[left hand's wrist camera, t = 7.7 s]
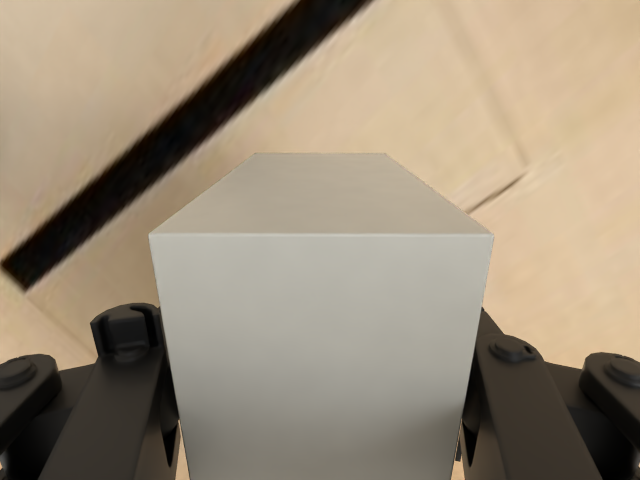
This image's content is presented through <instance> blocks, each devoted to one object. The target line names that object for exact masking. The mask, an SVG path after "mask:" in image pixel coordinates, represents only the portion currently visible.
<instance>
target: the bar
mask: <svg viewBox="0 0 640 480" xmlns="http://www.w3.org/2000/svg"><path fill="white" fill-rule="evenodd" d="M148 239H149V244H150V250H151V256H152V262H153V268H154V273H155V279H156V285H157V291H158V297H159V302H160V308H161V314H162V320H163V326H164V331H165V337H166V343H167V349H168V355H169V361H170V366H171V372H172V378H173V384H174V390H175V395H176V401H177V407H178V413H179V419H180V424H181V430H182V436H183V442H184V448H185V454H186V459H187V465H188V471H189V477H190V480H451V475H452V470H453V464H454V459H455V453H456V447H457V442H458V436H459V431H460V425H461V420H462V414H463V408H464V403H465V397H466V392H467V386H468V380H469V375H470V369H471V364H472V358H473V353H474V347H475V341H476V336H477V330H478V325H479V319H480V313H481V308H482V302H483V297H484V291H485V286H486V280H487V274H488V269H489V263H490V258H491V252H492V247H493V241H494V234H493V233H492V232H490V231H489V230H488V229H486V228H485V227H484V226H482V225H481V224H480V223H478V222H477V221H476V220H474V219H473V218H472V217H470V216H469V215H468V214H466V213H465V212H463V211H462V210H461V209H459V208H458V207H457V206H455V205H454V204H453V203H451V202H450V201H449V200H447V199H446V198H445V197H443V196H442V195H441V194H439V193H438V192H437V191H435V190H434V189H433V188H431V187H430V186H429V185H427V184H426V183H425V182H423V181H422V180H420V179H419V178H418V177H416V176H415V175H414V174H412V173H411V172H410V171H408V170H407V169H406V168H404V167H403V166H402V165H400V164H399V163H398V162H396V161H395V160H394V159H392V158H391V157H390V156H388V155H387V154H385V153H255V154H253V155H252V156H251V157H249V158H248V159H247V160H245V161H244V162H243V163H241V164H240V165H239V166H237V167H236V168H235V169H233V170H232V171H231V172H229V173H228V174H227V175H225V176H224V177H223V178H221V179H220V180H219V181H217V182H216V183H215V184H213V185H212V186H211V187H209V188H208V189H207V190H205V191H204V192H203V193H202V194H200V195H199V196H198V197H196V198H195V199H194V200H192V201H191V202H190V203H188V204H187V205H186V206H184V207H183V208H182V209H180V210H179V211H178V212H176V213H175V214H174V215H172V216H171V217H170V218H168V219H167V220H166V221H164V222H163V223H162V224H160V225H159V226H158V227H156V228H155V229H154V230H152V231H151V232H150V233H149V234H148Z"/></svg>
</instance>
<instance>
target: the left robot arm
mask: <svg viewBox="0 0 640 480" xmlns="http://www.w3.org/2000/svg"><path fill="white" fill-rule="evenodd" d="M90 325H91V329H92V333H93V337H94V341H95V345H96V349H97V353H98V358H97V360H96V362H95V363H94V364H90V365H86V366H81V367H76V368H71V369H66V370H61V371H58V367H57V364H56V361H55V359H54V358H52V357H51V356H50V355H44V354H34V355H25V356H21V357H19V358H14V359H11V360H8V361H7V362H5V363H3V364H0V462H1V465H2V467H3V468H2V469H1V470H0V480H175V477H176V469H177V461H178V453H179V445H180V437H181V436H180V428H179V423H178V420H179V413H178V407H177V401H176V395H175V390H174V384H173V378H172V372H171V366H170V361H169V355H168V349H167V343H166V337H165V331H164V326H163V320H162V314H161V308H160V307H159V308H156V307H155V306H154V305H151V304H147V303H130V304H125V305H120V306H117V307H114V308H112V309H109V310H106V311H105V312H103V313H101V314H100V315H98V316H96V317H95V318H94V319H93V320H92V321H91V323H90ZM461 454H462V460H463V468H464V476H465V480H640V467H639V463H640V362H638V361H635V360H634V359H632V358H629V357H626V356H622V355H619V354H612V353H603V352H600V353H593V354H590V355H589V356H588V357H586V359H585V362H584V365H583V368H582V369H577V368H572V367H567V366H562V365H557V364H552V363H549V362H545V361H544V360H543V358H542V356H541V355H540V353H539V352H538V351H537V350H536V348H534V347H533V346H531V345H530V344H528V343H527V342H525V341H523V340H521V339H518V338H516V337H513V336H509V335H505V334H503V332H502V331H501V330H500V329H499V327H498V326H497V325H496V324H495V322H494V321H493V320H492V319H491V317H490V316H489V315H488V314H487V312H484V309H483V307H482V308H481V313H480V319H479V325H478V330H477V336H476V341H475V347H474V353H473V358H472V364H471V369H470V375H469V380H468V386H467V392H466V397H465V403H464V408H463V414H462V423H461V428H460V434H459V440H458V445H457V451H456V458H455V461H459V462H460V460H461Z"/></svg>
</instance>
